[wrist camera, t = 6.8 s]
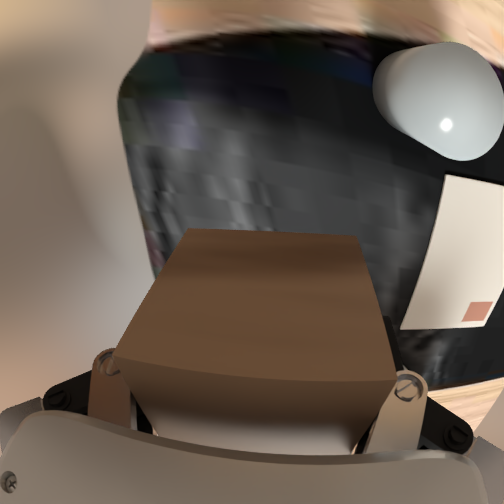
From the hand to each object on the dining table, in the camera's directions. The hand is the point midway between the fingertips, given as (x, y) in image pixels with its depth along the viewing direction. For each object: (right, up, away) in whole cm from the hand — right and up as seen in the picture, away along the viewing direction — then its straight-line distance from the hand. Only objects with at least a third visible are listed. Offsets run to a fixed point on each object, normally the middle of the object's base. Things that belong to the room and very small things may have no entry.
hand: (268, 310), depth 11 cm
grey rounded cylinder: (+9, +12, +3) cm, 15 cm away
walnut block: (0, 0, +1) cm, 1 cm away
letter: (+17, +1, +8) cm, 19 cm away
